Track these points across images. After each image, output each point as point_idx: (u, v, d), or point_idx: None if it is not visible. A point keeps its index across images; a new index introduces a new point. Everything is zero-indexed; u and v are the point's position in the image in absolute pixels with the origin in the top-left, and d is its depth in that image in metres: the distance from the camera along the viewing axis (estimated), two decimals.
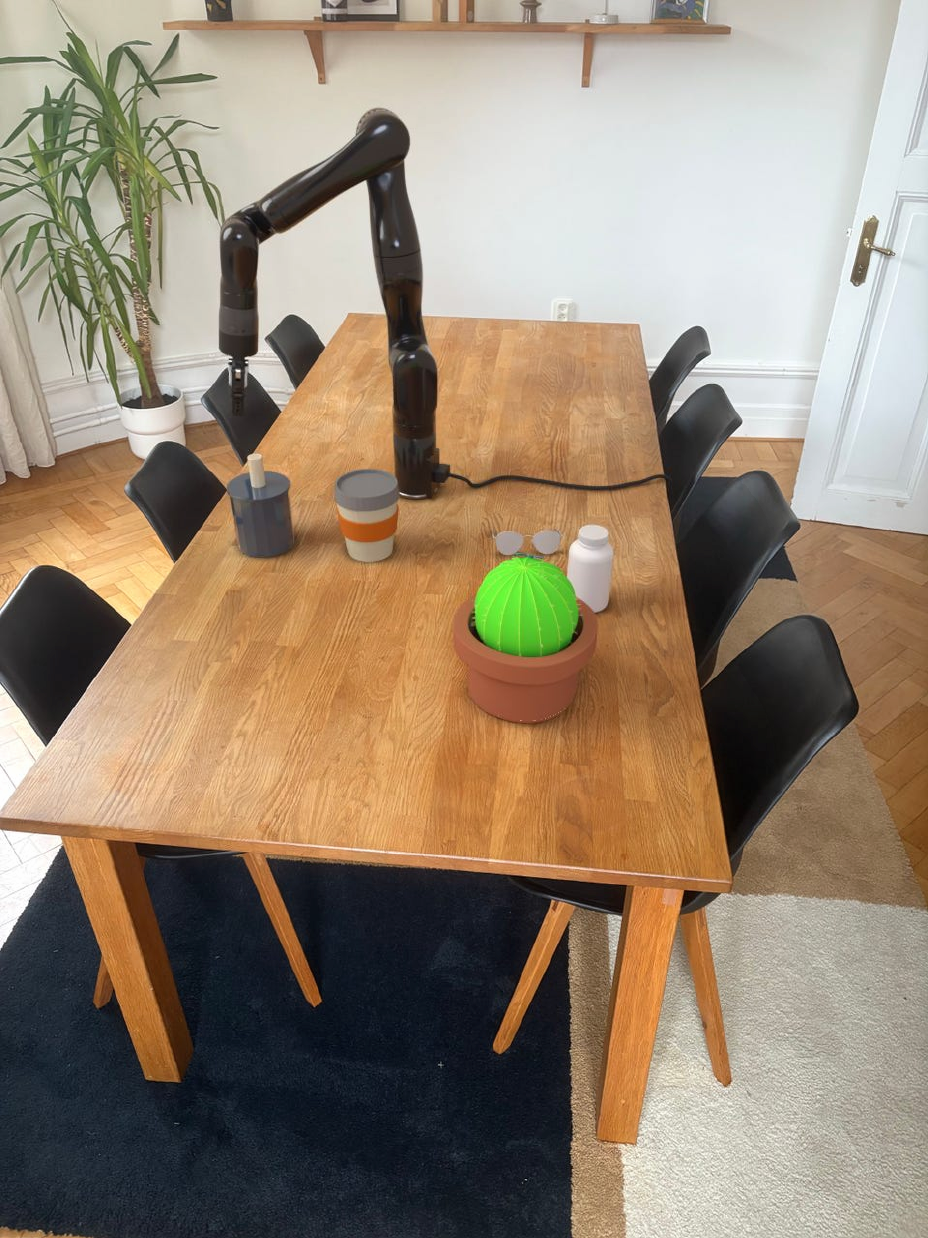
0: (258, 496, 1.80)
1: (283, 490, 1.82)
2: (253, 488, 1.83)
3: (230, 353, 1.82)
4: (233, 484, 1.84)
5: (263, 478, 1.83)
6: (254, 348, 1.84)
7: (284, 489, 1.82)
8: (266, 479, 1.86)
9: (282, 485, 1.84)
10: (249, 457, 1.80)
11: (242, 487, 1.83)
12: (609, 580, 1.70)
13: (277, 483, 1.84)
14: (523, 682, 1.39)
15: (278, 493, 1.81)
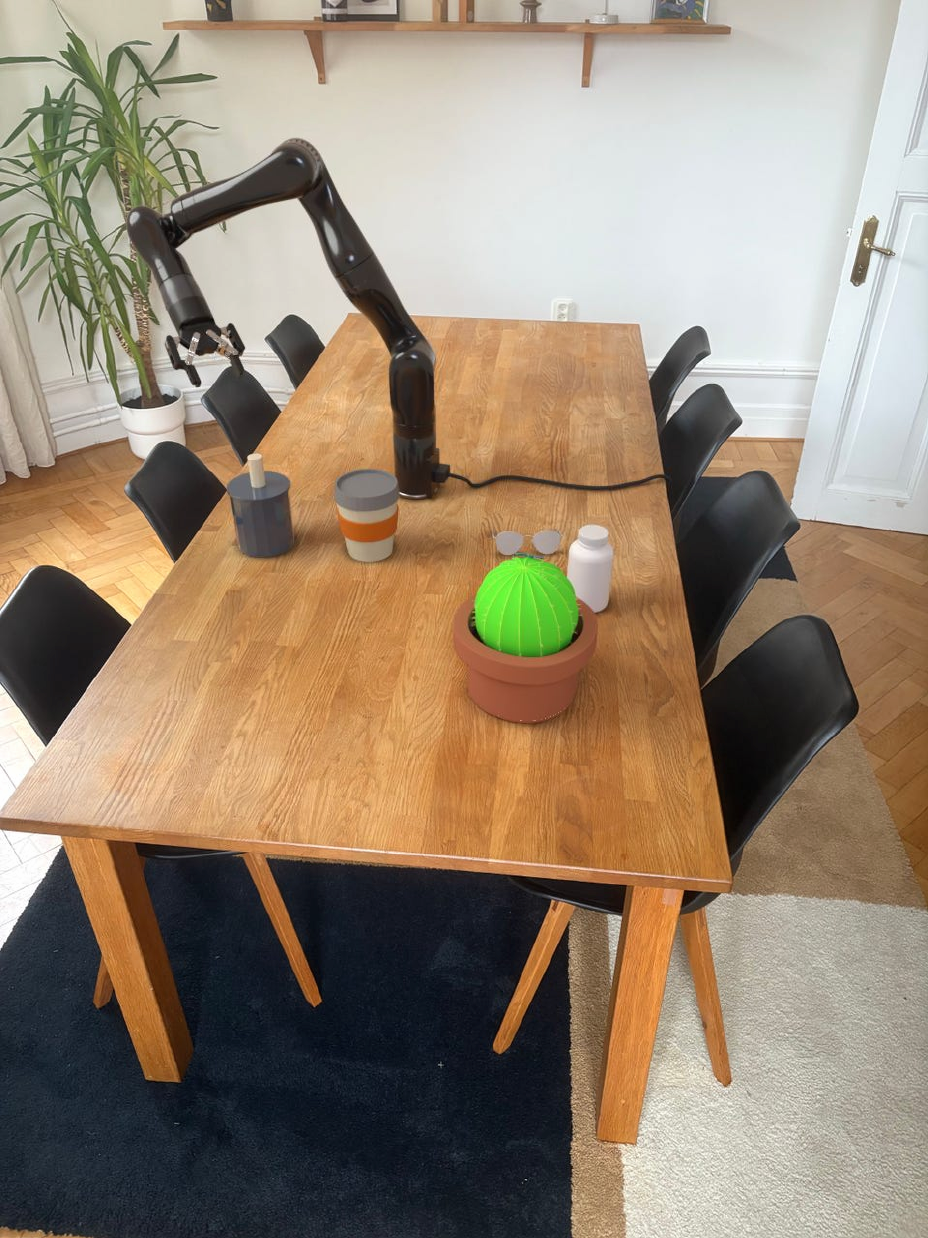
0: (258, 496, 1.80)
1: (283, 490, 1.82)
2: (253, 488, 1.83)
3: None
4: (233, 484, 1.84)
5: (263, 478, 1.83)
6: (184, 313, 1.78)
7: (284, 489, 1.82)
8: (266, 479, 1.86)
9: (282, 485, 1.84)
10: (249, 457, 1.80)
11: (242, 487, 1.83)
12: (609, 580, 1.70)
13: (277, 483, 1.84)
14: (523, 682, 1.39)
15: (278, 493, 1.81)
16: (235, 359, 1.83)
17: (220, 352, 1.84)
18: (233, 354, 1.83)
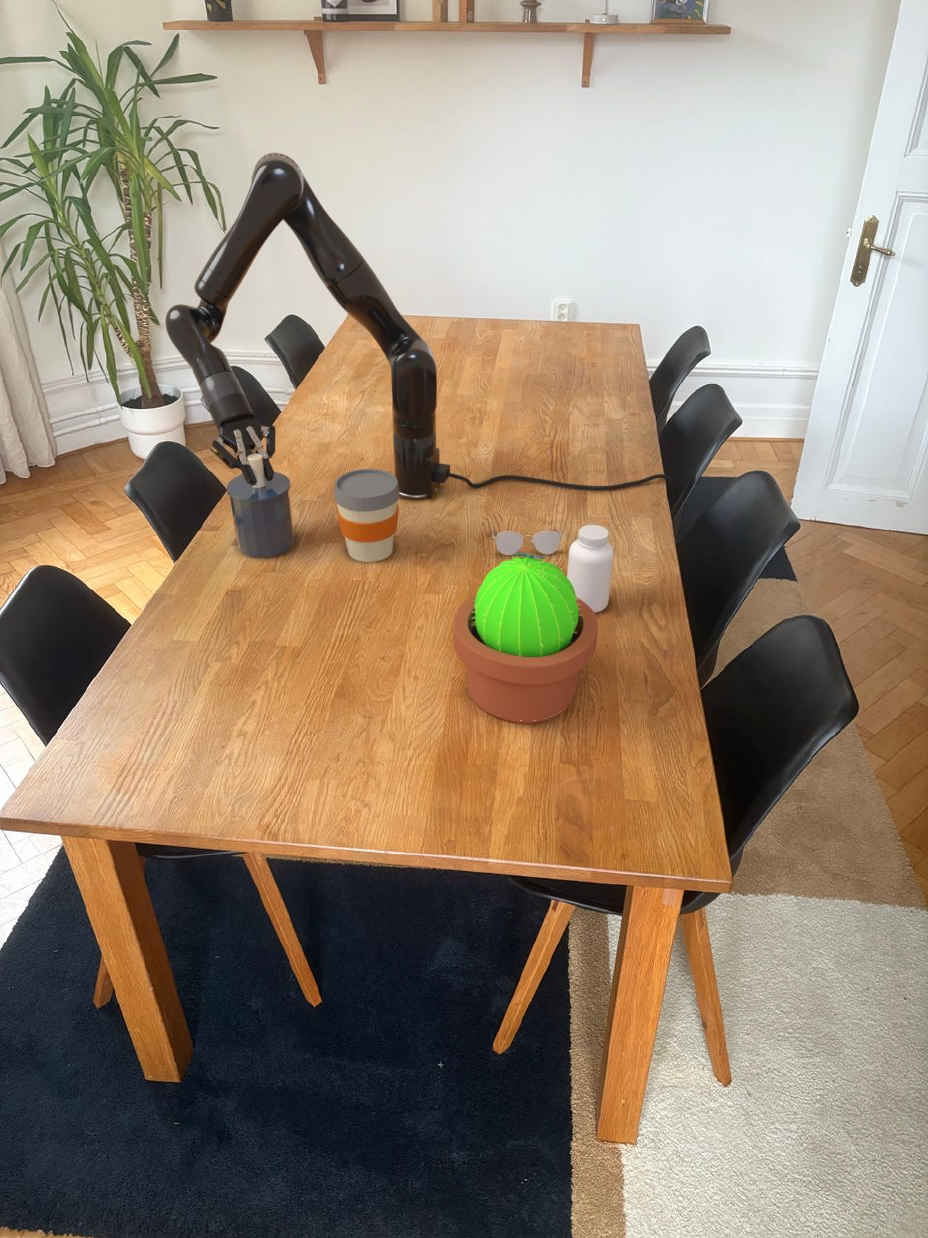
0: (258, 496, 1.80)
1: (283, 490, 1.82)
2: (253, 488, 1.83)
3: None
4: (233, 484, 1.84)
5: (263, 478, 1.83)
6: (225, 411, 1.79)
7: (284, 489, 1.82)
8: None
9: (282, 485, 1.84)
10: (249, 457, 1.80)
11: (242, 487, 1.83)
12: (609, 580, 1.70)
13: (277, 483, 1.84)
14: (523, 682, 1.39)
15: (278, 493, 1.81)
16: (265, 463, 1.82)
17: (253, 451, 1.84)
18: (262, 457, 1.82)
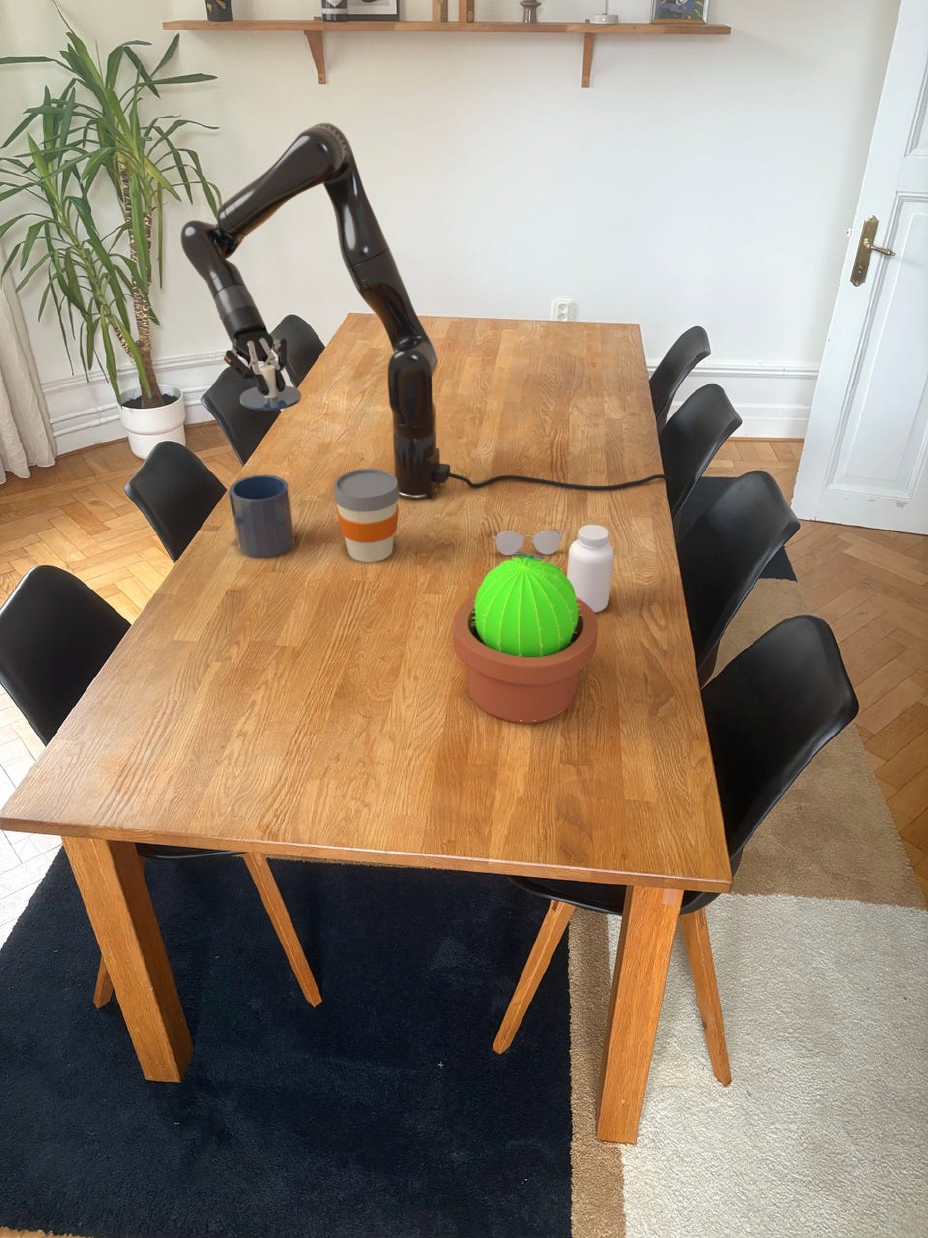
0: (271, 405, 1.87)
1: (294, 400, 1.89)
2: (265, 398, 1.89)
3: (230, 339, 1.89)
4: (246, 395, 1.91)
5: (275, 389, 1.89)
6: (239, 322, 1.85)
7: (295, 399, 1.89)
8: (278, 391, 1.93)
9: (293, 396, 1.90)
10: (262, 367, 1.87)
11: (254, 397, 1.90)
12: (609, 580, 1.70)
13: (288, 394, 1.91)
14: (523, 682, 1.39)
15: (290, 402, 1.88)
16: (277, 374, 1.88)
17: (265, 363, 1.90)
18: None
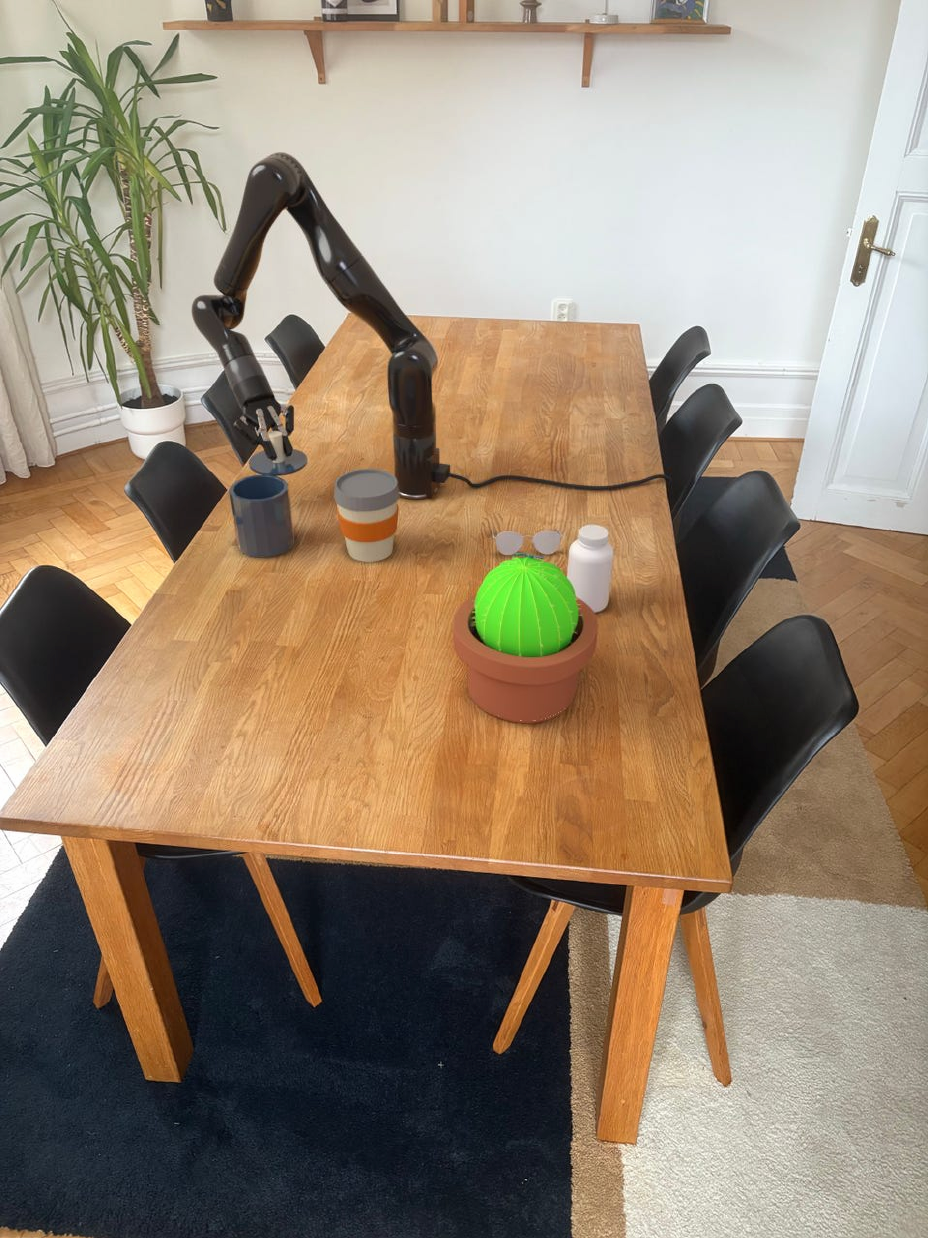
0: (278, 470, 1.95)
1: (301, 465, 1.97)
2: (273, 463, 1.98)
3: None
4: (254, 459, 1.99)
5: (282, 454, 1.98)
6: (248, 391, 1.94)
7: (302, 464, 1.98)
8: (285, 455, 2.01)
9: (300, 460, 1.99)
10: (270, 434, 1.95)
11: (263, 462, 1.98)
12: (609, 580, 1.70)
13: (295, 459, 2.00)
14: (523, 682, 1.39)
15: (296, 468, 1.96)
16: (285, 440, 1.97)
17: (273, 429, 1.99)
18: (282, 434, 1.97)
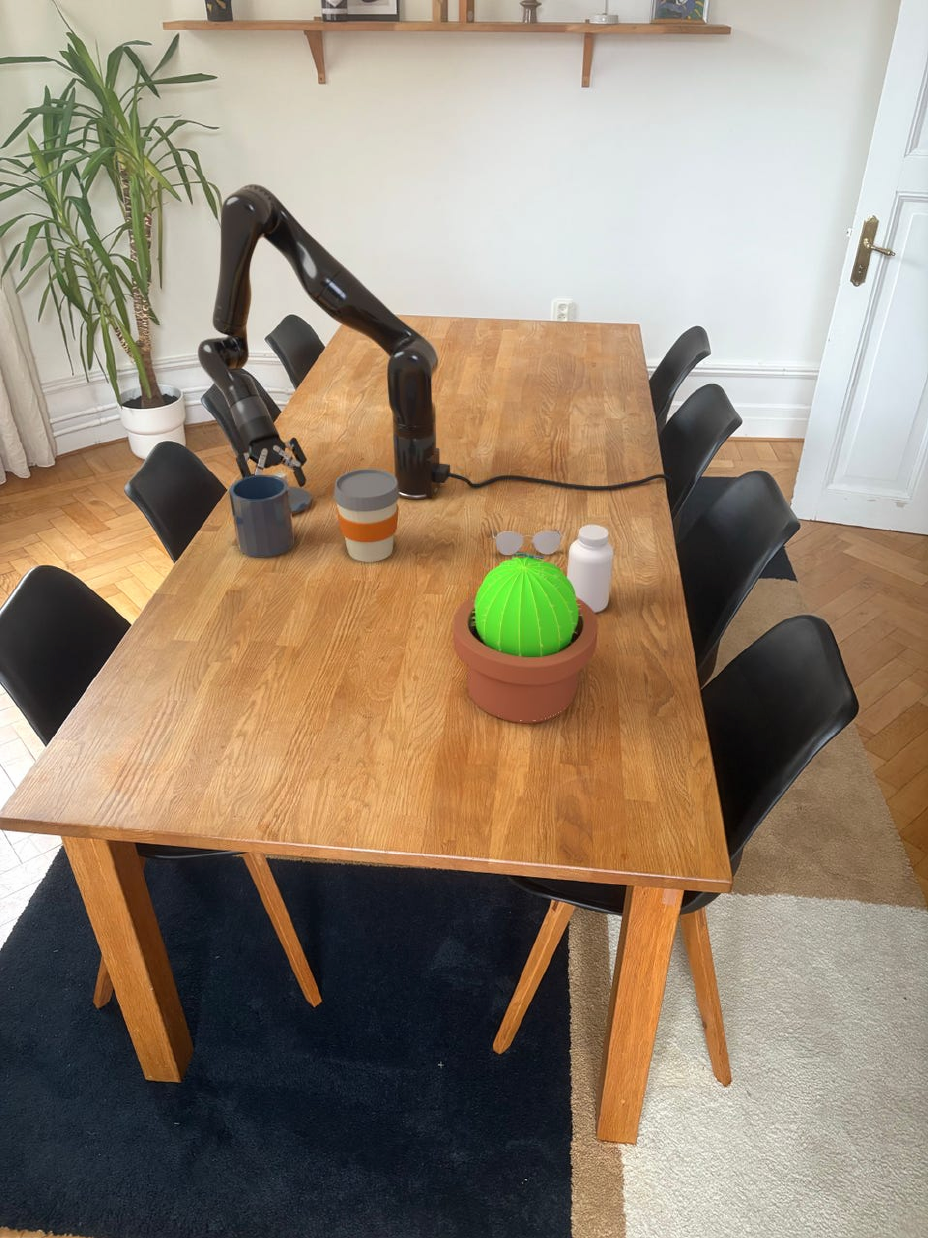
0: None
1: (305, 504, 2.03)
2: None
3: None
4: None
5: None
6: (254, 432, 1.99)
7: (306, 503, 2.03)
8: (290, 494, 2.06)
9: (304, 499, 2.04)
10: (274, 475, 2.01)
11: None
12: (609, 580, 1.70)
13: (299, 498, 2.05)
14: (523, 682, 1.39)
15: (300, 507, 2.02)
16: (298, 471, 2.03)
17: (284, 464, 2.04)
18: (296, 466, 2.03)
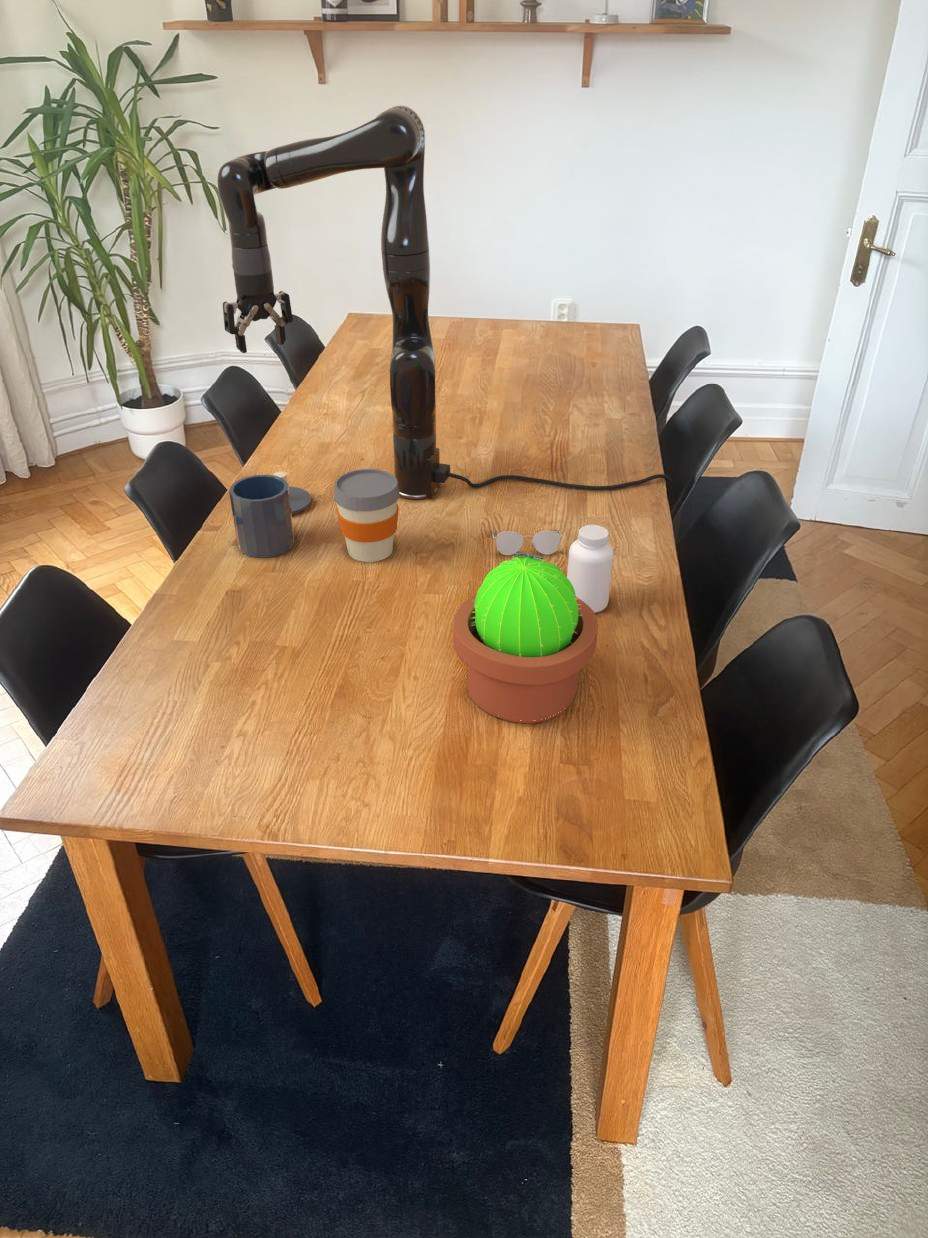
0: None
1: (305, 504, 2.03)
2: None
3: (236, 289, 1.90)
4: None
5: None
6: (251, 289, 1.87)
7: (306, 503, 2.03)
8: (290, 494, 2.06)
9: (304, 499, 2.04)
10: (274, 475, 2.01)
11: None
12: (609, 580, 1.70)
13: (299, 498, 2.05)
14: (523, 682, 1.39)
15: (300, 507, 2.02)
16: (281, 331, 1.98)
17: (268, 315, 1.97)
18: (280, 325, 1.97)
